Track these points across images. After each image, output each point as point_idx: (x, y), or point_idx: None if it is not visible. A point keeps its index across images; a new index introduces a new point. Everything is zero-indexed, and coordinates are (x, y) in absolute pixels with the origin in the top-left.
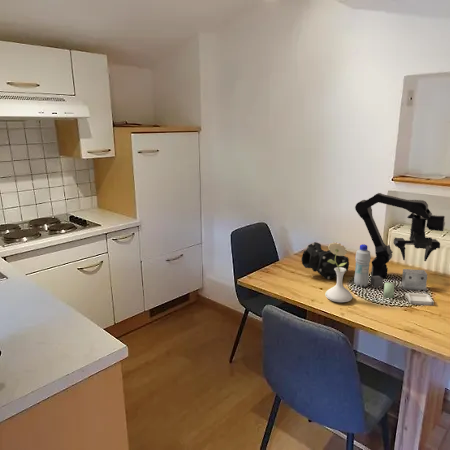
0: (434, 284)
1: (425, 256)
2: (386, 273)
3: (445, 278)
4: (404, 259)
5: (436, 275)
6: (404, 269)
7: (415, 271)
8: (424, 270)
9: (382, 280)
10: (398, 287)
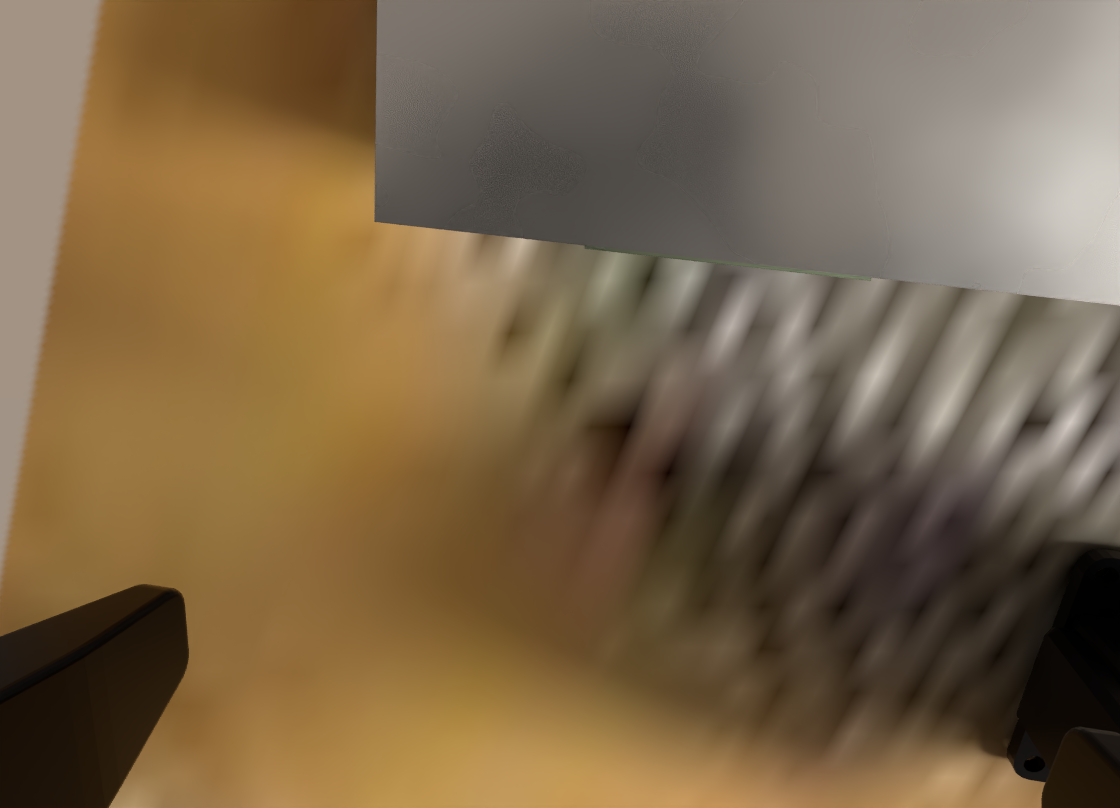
0: (239, 286)
1: (11, 776)
2: (1093, 663)
3: (5, 548)
4: (1113, 752)
5: None
6: (1113, 255)
7: (763, 38)
8: (376, 179)
9: None
10: None
